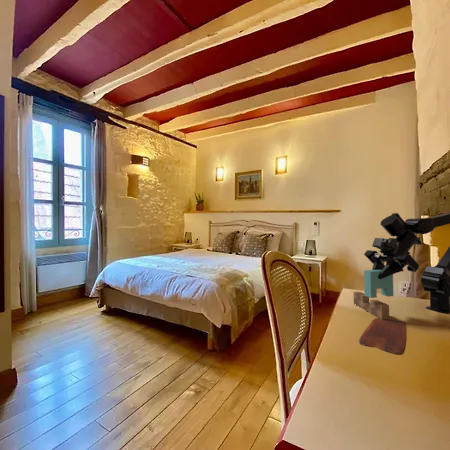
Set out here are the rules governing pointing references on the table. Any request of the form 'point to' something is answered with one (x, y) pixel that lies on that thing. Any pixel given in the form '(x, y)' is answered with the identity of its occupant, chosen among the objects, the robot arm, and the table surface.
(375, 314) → the walnut notched bar
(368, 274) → the teal flat block
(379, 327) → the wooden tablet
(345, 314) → the table surface
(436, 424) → the table surface
